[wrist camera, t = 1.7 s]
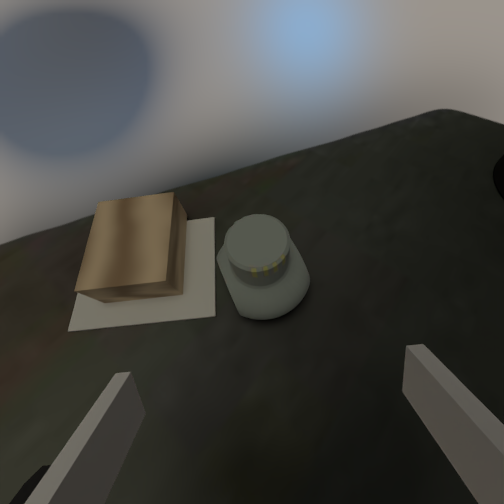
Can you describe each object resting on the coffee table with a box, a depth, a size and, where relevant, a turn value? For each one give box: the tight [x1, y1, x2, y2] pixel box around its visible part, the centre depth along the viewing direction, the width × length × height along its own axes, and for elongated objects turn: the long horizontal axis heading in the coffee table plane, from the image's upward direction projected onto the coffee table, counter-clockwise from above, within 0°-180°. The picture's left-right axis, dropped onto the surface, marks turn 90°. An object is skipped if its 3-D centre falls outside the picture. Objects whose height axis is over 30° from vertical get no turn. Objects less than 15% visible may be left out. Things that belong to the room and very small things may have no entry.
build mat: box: [68, 217, 216, 332], centre depth 32 cm, size 18×14×1 cm
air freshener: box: [216, 214, 310, 320], centre depth 25 cm, size 11×8×10 cm
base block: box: [75, 192, 187, 303], centre depth 30 cm, size 10×12×5 cm
